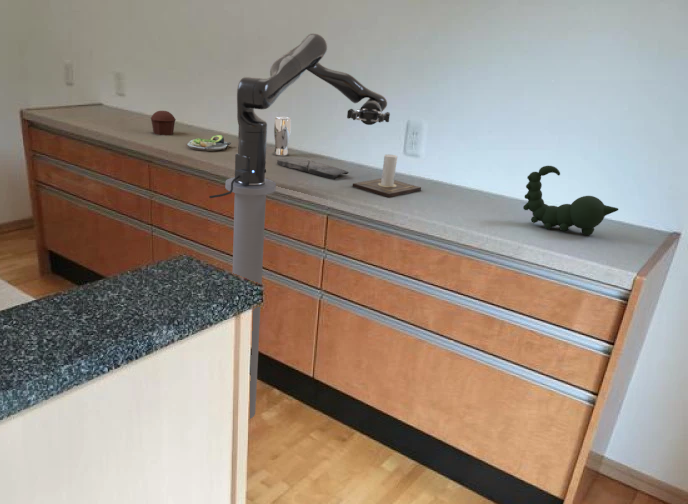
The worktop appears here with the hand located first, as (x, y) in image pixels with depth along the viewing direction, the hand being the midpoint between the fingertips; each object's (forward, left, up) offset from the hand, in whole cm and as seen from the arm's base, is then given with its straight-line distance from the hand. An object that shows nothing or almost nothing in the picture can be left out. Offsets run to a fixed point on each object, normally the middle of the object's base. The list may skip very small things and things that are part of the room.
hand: (367, 117), depth 200 cm
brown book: (+8, -6, -24) cm, 25 cm away
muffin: (-6, +116, -24) cm, 119 cm away
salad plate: (-6, +80, -24) cm, 84 cm away
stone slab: (+4, +27, -24) cm, 36 cm away
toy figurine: (+17, -65, -24) cm, 71 cm away
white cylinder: (+8, -6, -22) cm, 24 cm away
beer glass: (+13, +55, -24) cm, 62 cm away
